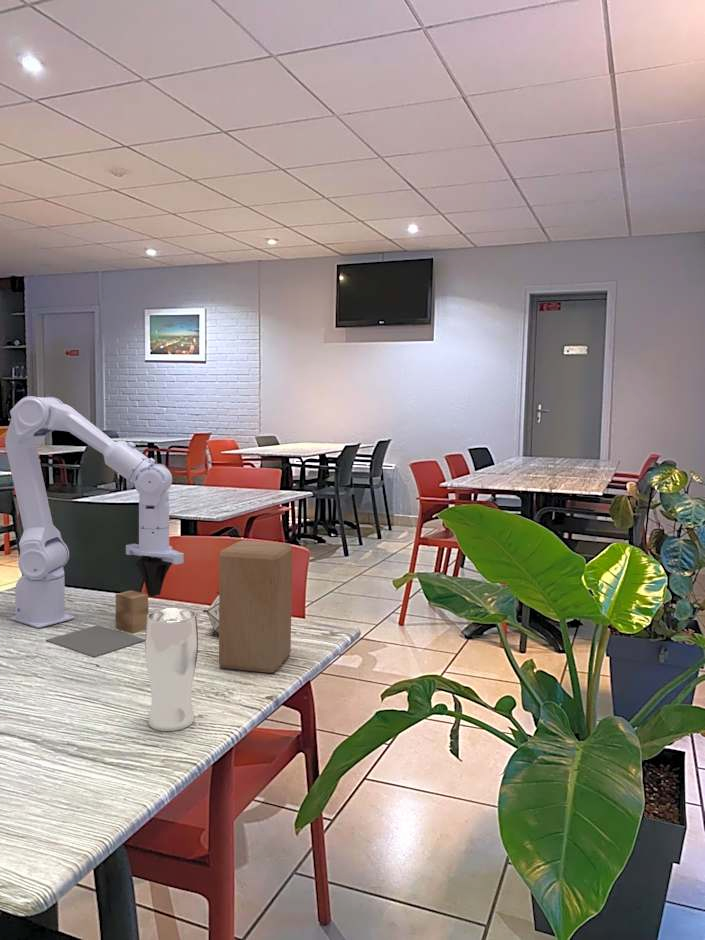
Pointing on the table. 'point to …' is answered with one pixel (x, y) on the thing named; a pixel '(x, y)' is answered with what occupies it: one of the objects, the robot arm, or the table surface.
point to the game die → (214, 614)
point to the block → (255, 605)
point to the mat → (96, 640)
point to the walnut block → (131, 612)
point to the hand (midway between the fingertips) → (154, 594)
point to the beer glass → (171, 666)
